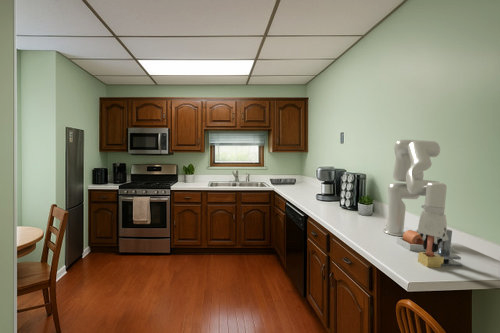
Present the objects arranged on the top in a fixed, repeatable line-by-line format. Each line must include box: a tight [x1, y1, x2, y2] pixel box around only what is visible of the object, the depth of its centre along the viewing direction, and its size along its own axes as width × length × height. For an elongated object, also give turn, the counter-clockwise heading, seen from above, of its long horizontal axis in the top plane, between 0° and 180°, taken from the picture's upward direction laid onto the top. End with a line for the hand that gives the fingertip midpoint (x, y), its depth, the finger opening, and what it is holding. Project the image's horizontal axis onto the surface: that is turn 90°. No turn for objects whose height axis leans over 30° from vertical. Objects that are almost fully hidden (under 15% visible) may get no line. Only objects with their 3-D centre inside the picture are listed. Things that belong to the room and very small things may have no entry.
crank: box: [402, 229, 424, 245], centre depth 152 cm, size 20×8×8 cm, turn 94°
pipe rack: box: [396, 237, 454, 253], centre depth 151 cm, size 12×24×3 cm, turn 94°
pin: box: [425, 235, 434, 257], centre depth 126 cm, size 3×3×10 cm
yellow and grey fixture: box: [417, 228, 463, 268], centre depth 130 cm, size 12×18×15 cm
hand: (430, 249), depth 126 cm, fingers closed on pin, 3 cm apart
